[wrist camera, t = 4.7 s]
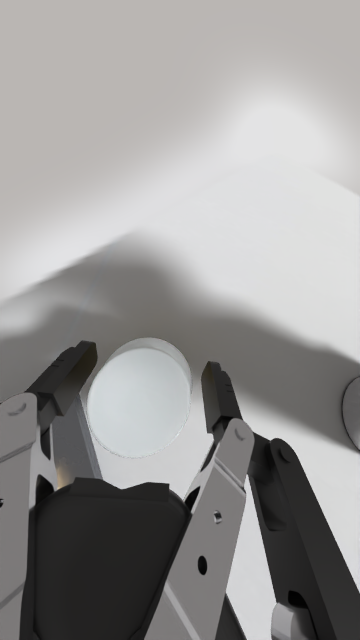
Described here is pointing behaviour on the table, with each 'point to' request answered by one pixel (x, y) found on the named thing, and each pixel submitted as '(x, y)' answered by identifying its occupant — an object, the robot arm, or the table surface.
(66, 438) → the collar plate
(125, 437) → the supplement bottle
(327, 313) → the table surface
